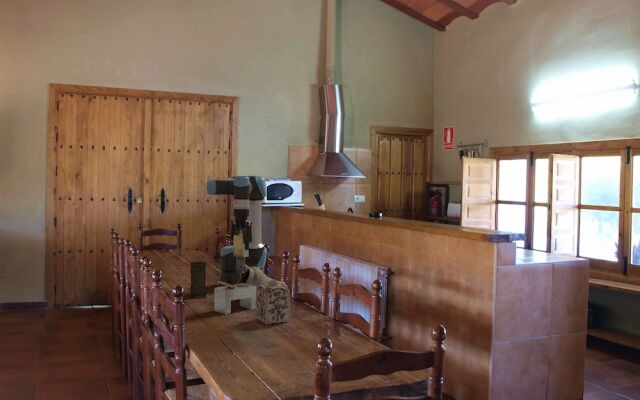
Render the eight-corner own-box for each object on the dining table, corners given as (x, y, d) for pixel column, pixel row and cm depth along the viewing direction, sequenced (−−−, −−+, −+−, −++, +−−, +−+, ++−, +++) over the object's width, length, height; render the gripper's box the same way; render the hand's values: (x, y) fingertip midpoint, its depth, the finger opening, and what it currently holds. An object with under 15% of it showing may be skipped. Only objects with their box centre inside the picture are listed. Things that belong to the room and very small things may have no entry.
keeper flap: (228, 287, 266) (228, 284, 266) (234, 288, 262) (235, 286, 262) (216, 282, 261) (217, 279, 261) (223, 284, 257) (224, 281, 257)
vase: (287, 269, 304) (239, 259, 294) (302, 269, 285) (251, 258, 274) (280, 309, 300) (230, 300, 290) (294, 312, 280) (242, 302, 270)
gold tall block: (242, 270, 272) (242, 234, 271) (250, 272, 267) (251, 235, 266) (230, 272, 267) (230, 235, 266) (239, 274, 262) (239, 236, 261)
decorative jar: (265, 324, 240) (265, 283, 239) (255, 318, 250) (256, 279, 249) (290, 322, 245) (291, 281, 244) (280, 315, 255) (280, 277, 255)
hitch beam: (244, 305, 276) (245, 283, 275) (256, 308, 269) (256, 285, 269) (214, 310, 263) (214, 287, 262) (225, 314, 256) (225, 290, 256)
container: (202, 298, 288) (202, 264, 287) (186, 297, 289) (186, 263, 289) (209, 295, 296) (209, 262, 296) (193, 294, 298) (194, 261, 297)
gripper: (222, 207, 270) (222, 254, 271) (247, 209, 256) (247, 258, 257) (235, 207, 276) (235, 252, 276) (260, 209, 261) (259, 257, 262)
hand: (240, 255), depth 267 cm, fingers closed on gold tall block, 7 cm apart
